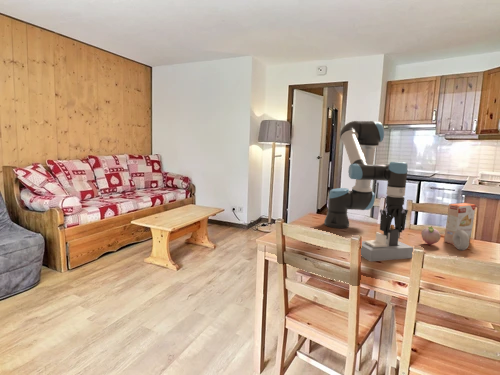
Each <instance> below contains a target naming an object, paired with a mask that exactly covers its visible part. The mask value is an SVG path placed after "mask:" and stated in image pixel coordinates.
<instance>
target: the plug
mask: <svg viewBox="0 0 500 375" xmlns="http://www.w3.org/2000/svg"><path fill="white" fill-rule="evenodd" d="M389 233H390V241H389V246H397V244H398V241H399V238H398V234H399V230H397V229H395V224H391V226H390V229H389Z"/></svg>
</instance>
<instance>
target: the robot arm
mask: <svg viewBox="0 0 500 375" xmlns="http://www.w3.org/2000/svg"><path fill="white" fill-rule="evenodd" d="M384 129H385V128H384V125H383V123H381V121H374V120H370V121H369V120H368V121H365V120H364V121H363V120H354V121H353V120H352V121H350V122H347V123H346V124H345V125H344V126H343V127H342V129H341V130H340V132H339V139H340V142H341V144H343V145H344V148H345V152H346V154H347V157H348V160H349V163H350V164H349V166H348V178H349V179H351V180H355V185H353V187H351V190H349V188H345V187H344V188H343V187H339V188H332V189H330V190H329V194H328V203H327V204H328V206H327V213H326V216H325V219H324V221H323V222H324V223H323V225H324V226H327V227H328V228H334V229H347V228H349V227H350V221H349V217H348V210H355V211H356V210H357V211H358V210H359V211H368V210H371V209H372V208H373V207H374V204H375V199H376V198H375V197H376V196H375V195H376V194H375V192H374V191H373V189H372V187H371V183H372V182H371V181H387V185H386V186H387V187H386V196H385V205H386V206H385V207H384V208H383V209H379V213H380V221H379V230H380V231H382V232H383V233H382V234H383V235H386V236H387V238H386V244H387V245H388V246H389V241H390V233H389V229H390V228H391V225H392V221H393V219H394V229H397V230H399V234H398V239H400V236H401V233H403V231H405V227H406V222H407V221H406V219H407V214H408V212H409V210H408V209H406V208H404V207H403V206H404V205H405V196H406V187H407V177H408V171H409V170H408V163H407V162H403V161H390V162H389V164H385V163H384V164H374V160H375V153H376V152H375V151H376V149H377V147H379V145H380V143H381V142H383V141H384V138H385V130H384ZM397 246H398V244H397Z"/></svg>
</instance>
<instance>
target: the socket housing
mask: <svg viewBox="0 0 500 375" xmlns="http://www.w3.org/2000/svg"><path fill="white" fill-rule="evenodd" d="M364 241H365V240H362V248H361V255H362V256H361V257H362V258H363V259H365V260H367V261H369V262H381V261H391V260H392V261H393V260H403V259H405V260H406V259H412V258H413V254H412V252H413V253H414V247H413V246H411V245H408V244H406V243H404V242H401V241H400V240H398V246H387V247H372V246H370V245H368V244H366V243H364Z"/></svg>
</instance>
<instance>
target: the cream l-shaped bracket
mask: <svg viewBox="0 0 500 375" xmlns="http://www.w3.org/2000/svg"><path fill="white" fill-rule="evenodd" d="M383 234H384V233H380V232H379V231H375V239H373V240H372V239H371V240H363V241H364V243H366V244H368V245H370V246H372V247H387V246H388V245H387V244H386V238H387V236H386V235H383Z"/></svg>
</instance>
